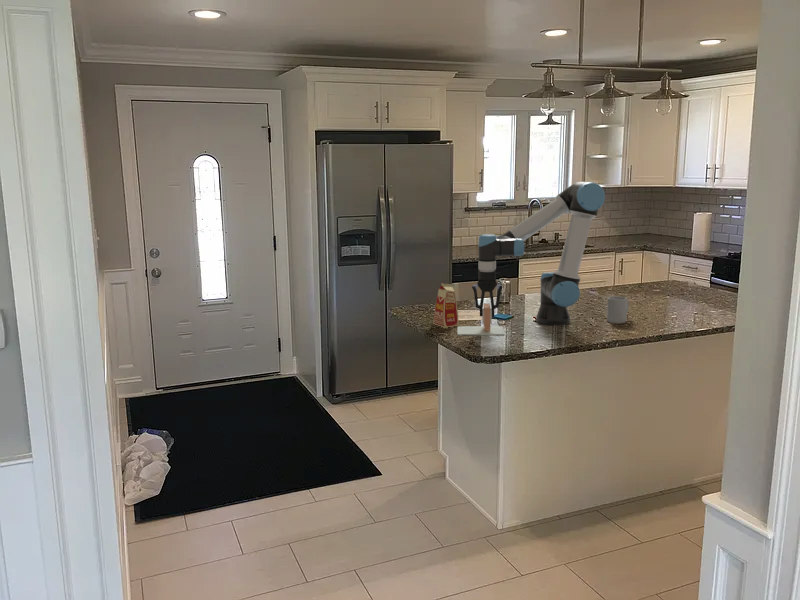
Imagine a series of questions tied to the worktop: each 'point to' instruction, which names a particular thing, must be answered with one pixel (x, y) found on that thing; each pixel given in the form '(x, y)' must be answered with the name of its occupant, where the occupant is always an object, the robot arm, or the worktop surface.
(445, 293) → the milk carton
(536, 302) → the worktop surface
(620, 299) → the mug
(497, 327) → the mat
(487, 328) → the tile
